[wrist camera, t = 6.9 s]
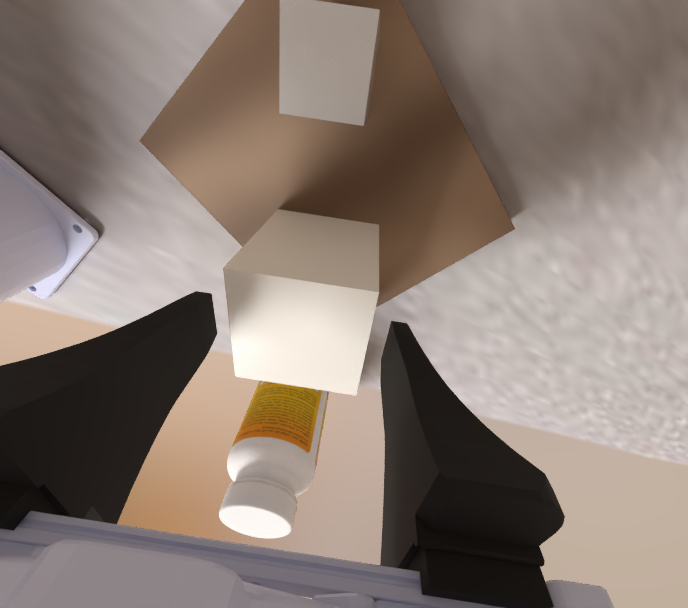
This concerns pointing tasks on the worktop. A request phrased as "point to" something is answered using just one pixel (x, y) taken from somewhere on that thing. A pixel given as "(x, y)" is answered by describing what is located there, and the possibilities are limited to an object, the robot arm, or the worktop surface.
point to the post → (327, 60)
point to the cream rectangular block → (304, 301)
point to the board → (332, 149)
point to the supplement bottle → (273, 459)
